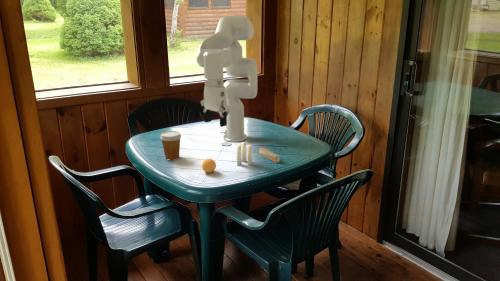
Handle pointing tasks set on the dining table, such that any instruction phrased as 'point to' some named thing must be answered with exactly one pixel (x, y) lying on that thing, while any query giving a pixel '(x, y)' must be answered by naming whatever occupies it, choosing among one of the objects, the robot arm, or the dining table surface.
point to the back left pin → (243, 151)
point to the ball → (208, 165)
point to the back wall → (269, 154)
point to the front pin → (239, 155)
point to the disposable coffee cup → (171, 144)
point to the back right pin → (249, 154)
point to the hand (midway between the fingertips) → (215, 123)
